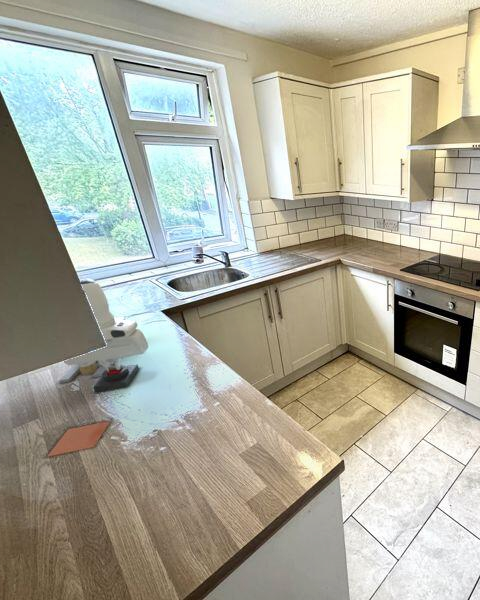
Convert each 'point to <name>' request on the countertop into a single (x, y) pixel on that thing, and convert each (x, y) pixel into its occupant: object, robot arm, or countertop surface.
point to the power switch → (116, 378)
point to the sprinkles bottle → (88, 367)
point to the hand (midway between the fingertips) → (114, 369)
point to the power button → (114, 371)
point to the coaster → (79, 438)
